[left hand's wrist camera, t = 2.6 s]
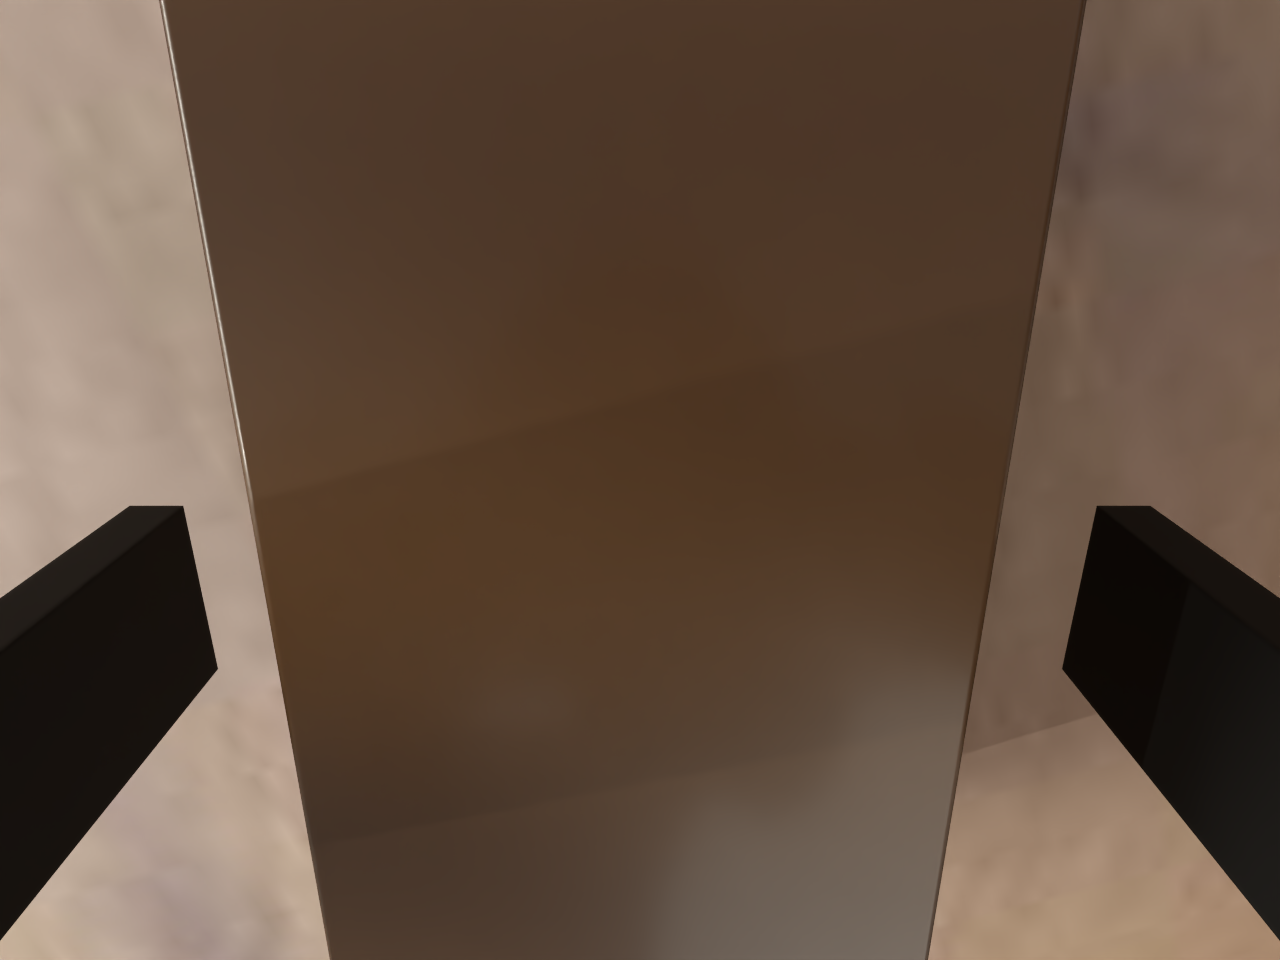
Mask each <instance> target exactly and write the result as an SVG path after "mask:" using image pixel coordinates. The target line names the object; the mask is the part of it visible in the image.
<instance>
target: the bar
mask: <svg viewBox="0 0 1280 960" xmlns="http://www.w3.org/2000/svg"><path fill="white" fill-rule="evenodd" d="M159 2H160V8H161V13H162V19H163V25H164V30H165V36H166V41H167V47H168V53H169V58H170V64H171V70H172V75H173V81H174V86H175V92H176V98H177V103H178V109H179V114H180V120H181V126H182V131H183V137H184V142H185V148H186V154H187V159H188V165H189V171H190V176H191V182H192V187H193V193H194V199H195V204H196V210H197V215H198V221H199V227H200V232H201V238H202V244H203V249H204V255H205V260H206V266H207V272H208V277H209V283H210V288H211V294H212V300H213V305H214V311H215V316H216V322H217V328H218V333H219V339H220V345H221V350H222V356H223V361H224V367H225V373H226V378H227V384H228V389H229V395H230V401H231V406H232V412H233V418H234V423H235V429H236V434H237V440H238V446H239V451H240V457H241V462H242V468H243V474H244V479H245V485H246V490H247V496H248V502H249V507H250V513H251V519H252V524H253V530H254V535H255V541H256V547H257V552H258V558H259V563H260V569H261V575H262V580H263V586H264V592H265V597H266V603H267V608H268V614H269V620H270V625H271V631H272V636H273V642H274V648H275V653H276V659H277V664H278V670H279V676H280V681H281V687H282V693H283V698H284V704H285V709H286V715H287V721H288V726H289V732H290V737H291V743H292V749H293V754H294V760H295V766H296V771H297V777H298V782H299V788H300V794H301V799H302V805H303V810H304V816H305V822H306V827H307V833H308V838H309V844H310V850H311V855H312V861H313V867H314V872H315V878H316V883H317V889H318V895H319V900H320V906H321V911H322V917H323V923H324V928H325V934H326V940H327V945H328V951H329V956H330V960H928V955H929V949H930V943H931V937H932V931H933V925H934V919H935V913H936V907H937V901H938V895H939V889H940V883H941V877H942V871H943V865H944V859H945V853H946V846H947V840H948V834H949V828H950V822H951V816H952V810H953V804H954V798H955V792H956V786H957V780H958V774H959V768H960V762H961V756H962V750H963V744H964V738H965V731H966V725H967V719H968V713H969V707H970V701H971V695H972V689H973V683H974V677H975V671H976V665H977V659H978V653H979V647H980V641H981V635H982V629H983V623H984V617H985V610H986V604H987V598H988V592H989V586H990V580H991V574H992V568H993V562H994V556H995V550H996V544H997V538H998V532H999V526H1000V520H1001V514H1002V508H1003V502H1004V496H1005V489H1006V483H1007V477H1008V471H1009V465H1010V459H1011V453H1012V447H1013V441H1014V435H1015V429H1016V423H1017V417H1018V411H1019V405H1020V399H1021V393H1022V387H1023V381H1024V374H1025V368H1026V362H1027V356H1028V350H1029V344H1030V338H1031V332H1032V326H1033V320H1034V314H1035V308H1036V302H1037V296H1038V290H1039V284H1040V278H1041V272H1042V266H1043V260H1044V253H1045V247H1046V241H1047V235H1048V229H1049V223H1050V217H1051V211H1052V205H1053V199H1054V193H1055V187H1056V181H1057V175H1058V169H1059V163H1060V157H1061V151H1062V145H1063V138H1064V132H1065V126H1066V120H1067V114H1068V108H1069V102H1070V96H1071V90H1072V84H1073V78H1074V72H1075V66H1076V60H1077V54H1078V48H1079V42H1080V36H1081V30H1082V24H1083V17H1084V11H1085V5H1086V0H159Z"/></svg>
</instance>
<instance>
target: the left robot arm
mask: <svg viewBox="0 0 1280 960" xmlns="http://www.w3.org/2000/svg"><path fill="white" fill-rule="evenodd" d="M217 669H218V667H217V663H216V658H215V653H214V648H213V644H212V639H211V634H210V630H209V625H208V620H207V616H206V611H205V606H204V602H203V597H202V592H201V587H200V583H199V578H198V573H197V569H196V564H195V559H194V555H193V550H192V545H191V541H190V536H189V531H188V527H187V522H186V517H185V512H184V508H183V506H129V507H128V508H126V509H125V510H123V511H122V512H121V513H119V514H118V515H116V516H115V517H114V518H112V519H111V520H109V521H108V522H107V523H105V524H104V525H102V526H101V527H100V528H98V529H97V530H95V531H94V532H93V533H91V534H90V535H88V536H87V537H86V538H84V539H83V540H81V541H80V542H78V543H77V544H76V545H74V546H73V547H71V548H70V549H69V550H67V551H66V552H64V553H63V554H62V555H60V556H59V557H57V558H56V559H55V560H53V561H52V562H50V563H49V564H48V565H46V566H45V567H43V568H42V569H41V570H39V571H38V572H36V573H35V574H34V575H32V576H31V577H29V578H28V579H27V580H25V581H24V582H22V583H21V584H20V585H18V586H17V587H15V588H14V589H13V590H11V591H10V592H8V593H7V594H6V595H4V596H3V597H1V598H0V940H1V939H2V938H3V936H4V935H5V934H6V933H7V931H8V930H9V929H10V928H11V926H12V925H13V924H14V923H15V921H16V920H17V919H18V918H19V916H20V915H21V914H22V913H23V911H24V910H25V909H26V908H27V907H28V905H29V904H30V903H31V902H32V900H33V899H34V898H35V897H36V895H37V894H38V893H39V892H40V890H41V889H42V888H43V887H44V885H45V884H46V883H47V882H48V880H49V879H50V878H51V877H52V875H53V874H54V873H55V872H56V870H57V869H58V868H59V867H60V865H61V864H62V863H63V862H64V860H65V859H66V858H67V857H68V855H69V854H70V853H71V852H72V850H73V849H74V848H75V847H76V845H77V844H78V843H79V842H80V840H81V839H82V838H83V837H84V835H85V834H86V833H87V832H88V830H89V829H90V828H91V827H92V825H93V824H94V823H95V822H96V820H97V819H98V818H99V817H100V815H101V814H102V813H103V812H104V810H105V809H106V808H107V807H108V805H109V804H110V803H111V802H112V800H113V799H114V798H115V797H116V795H117V794H118V793H119V792H120V790H121V789H122V788H123V787H124V785H125V784H126V783H127V782H128V780H129V779H130V778H131V777H132V775H133V774H134V773H135V772H136V770H137V769H138V768H139V767H140V765H141V764H142V763H143V762H144V760H145V759H146V758H147V757H148V755H149V754H150V753H151V752H152V750H153V749H154V748H155V747H156V746H157V744H158V743H159V742H160V741H161V739H162V738H163V737H164V736H165V734H166V733H167V732H168V731H169V729H170V728H171V727H172V726H173V724H174V723H175V722H176V721H177V719H178V718H179V717H180V716H181V714H182V713H183V712H184V711H185V709H186V708H187V707H188V706H189V704H190V703H191V702H192V701H193V699H194V698H195V697H196V696H197V694H198V693H199V692H200V691H201V689H202V688H203V687H204V686H205V684H206V683H207V682H208V681H209V679H210V678H211V677H212V676H213V674H214V673H215V672H216V671H217ZM1062 669H1063V671H1064V672H1065V673H1066V674H1067V676H1068V677H1069V678H1070V679H1071V681H1072V682H1073V683H1074V684H1075V686H1076V687H1077V688H1078V689H1079V691H1080V692H1081V693H1082V694H1083V696H1084V697H1085V698H1086V699H1087V701H1088V702H1089V703H1090V704H1091V706H1092V707H1093V708H1094V709H1095V711H1096V712H1097V713H1098V714H1099V716H1100V717H1101V718H1102V719H1103V721H1104V722H1105V723H1106V724H1107V726H1108V727H1109V728H1110V729H1111V731H1112V732H1113V733H1114V734H1115V736H1116V737H1117V738H1118V739H1119V741H1120V742H1121V743H1122V744H1123V746H1124V747H1125V748H1126V749H1127V750H1128V752H1129V753H1130V754H1131V755H1132V757H1133V758H1134V759H1135V760H1136V762H1137V763H1138V764H1139V765H1140V767H1141V768H1142V769H1143V770H1144V772H1145V773H1146V774H1147V775H1148V777H1149V778H1150V779H1151V780H1152V782H1153V783H1154V784H1155V785H1156V787H1157V788H1158V789H1159V790H1160V792H1161V793H1162V794H1163V795H1164V797H1165V798H1166V799H1167V800H1168V802H1169V803H1170V804H1171V805H1172V807H1173V808H1174V809H1175V810H1176V812H1177V813H1178V814H1179V815H1180V817H1181V818H1182V819H1183V820H1184V822H1185V823H1186V824H1187V825H1188V827H1189V828H1190V829H1191V830H1192V832H1193V833H1194V834H1195V835H1196V837H1197V838H1198V839H1199V840H1200V842H1201V843H1202V844H1203V845H1204V847H1205V848H1206V849H1207V850H1208V852H1209V853H1210V854H1211V855H1212V857H1213V858H1214V859H1215V860H1216V862H1217V863H1218V864H1219V865H1220V867H1221V868H1222V869H1223V870H1224V872H1225V873H1226V874H1227V875H1228V877H1229V878H1230V879H1231V880H1232V882H1233V883H1234V884H1235V885H1236V887H1237V888H1238V889H1239V890H1240V892H1241V893H1242V894H1243V895H1244V897H1245V898H1246V899H1247V900H1248V902H1249V903H1250V904H1251V905H1252V907H1253V908H1254V909H1255V910H1256V911H1257V913H1258V914H1259V915H1260V916H1261V918H1262V919H1263V920H1264V921H1265V923H1266V924H1267V925H1268V926H1269V928H1270V929H1271V930H1272V931H1273V933H1274V934H1275V935H1276V936H1277V938H1278V939H1279V940H1280V598H1279V597H1277V596H1276V595H1274V594H1273V593H1272V592H1270V591H1269V590H1267V589H1266V588H1265V587H1263V586H1262V585H1260V584H1259V583H1258V582H1256V581H1255V580H1253V579H1252V578H1251V577H1249V576H1248V575H1246V574H1245V573H1244V572H1242V571H1241V570H1239V569H1238V568H1237V567H1235V566H1234V565H1232V564H1231V563H1230V562H1228V561H1227V560H1225V559H1224V558H1223V557H1221V556H1220V555H1218V554H1217V553H1216V552H1214V551H1213V550H1211V549H1210V548H1209V547H1207V546H1206V545H1204V544H1203V543H1202V542H1200V541H1199V540H1197V539H1196V538H1194V537H1193V536H1192V535H1190V534H1189V533H1187V532H1186V531H1185V530H1183V529H1182V528H1180V527H1179V526H1178V525H1176V524H1175V523H1173V522H1172V521H1171V520H1169V519H1168V518H1166V517H1165V516H1164V515H1162V514H1161V513H1159V512H1158V511H1157V510H1155V509H1154V508H1152V507H1151V506H1097V508H1096V512H1095V517H1094V522H1093V527H1092V531H1091V536H1090V541H1089V545H1088V550H1087V555H1086V559H1085V564H1084V569H1083V573H1082V578H1081V583H1080V587H1079V592H1078V597H1077V602H1076V606H1075V611H1074V616H1073V620H1072V625H1071V630H1070V634H1069V639H1068V644H1067V648H1066V653H1065V658H1064V663H1063V667H1062Z"/></svg>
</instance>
